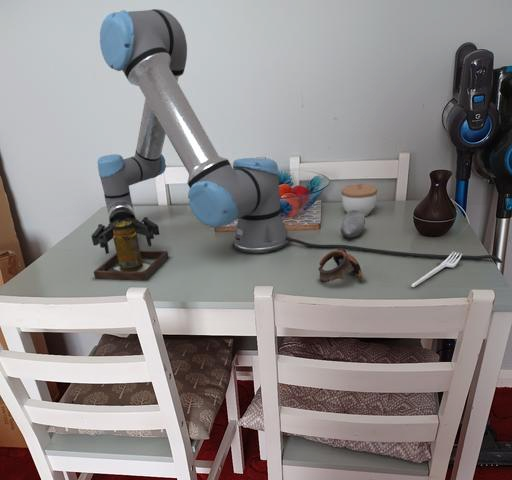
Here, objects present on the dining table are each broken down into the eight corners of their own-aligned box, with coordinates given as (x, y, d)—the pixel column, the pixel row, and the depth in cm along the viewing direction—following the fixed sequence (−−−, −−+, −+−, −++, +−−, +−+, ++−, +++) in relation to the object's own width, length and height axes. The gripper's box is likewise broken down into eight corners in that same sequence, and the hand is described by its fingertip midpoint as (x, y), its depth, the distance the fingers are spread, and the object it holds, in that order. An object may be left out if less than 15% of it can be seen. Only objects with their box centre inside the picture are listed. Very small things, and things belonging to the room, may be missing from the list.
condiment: (134, 260, 144) (125, 217, 138) (153, 266, 139) (145, 223, 133) (112, 269, 140) (102, 225, 134) (131, 276, 135) (121, 231, 129)
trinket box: (335, 212, 166) (335, 182, 161) (366, 206, 168) (367, 177, 164) (350, 221, 157) (351, 190, 152) (382, 216, 160) (384, 185, 155)
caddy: (168, 257, 144) (167, 251, 143) (146, 280, 132) (145, 273, 131) (120, 256, 147) (119, 250, 146) (95, 278, 135) (93, 271, 134)
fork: (406, 286, 118) (406, 278, 117) (450, 258, 129) (451, 250, 128) (419, 290, 116) (419, 282, 115) (463, 261, 127) (464, 253, 126)
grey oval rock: (334, 234, 141) (342, 204, 140) (341, 235, 154) (348, 208, 153) (357, 239, 140) (366, 209, 138) (362, 241, 153) (370, 213, 151)
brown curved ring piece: (367, 289, 119) (352, 264, 114) (330, 304, 123) (313, 281, 118) (363, 256, 127) (348, 232, 122) (328, 272, 131) (312, 249, 126)
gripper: (163, 225, 155) (174, 251, 136) (85, 238, 150) (85, 266, 132) (159, 200, 151) (170, 223, 132) (78, 212, 146) (78, 238, 128)
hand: (128, 244), depth 132 cm, fingers open, 10 cm apart
